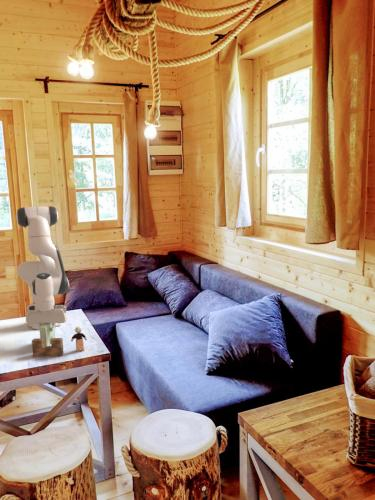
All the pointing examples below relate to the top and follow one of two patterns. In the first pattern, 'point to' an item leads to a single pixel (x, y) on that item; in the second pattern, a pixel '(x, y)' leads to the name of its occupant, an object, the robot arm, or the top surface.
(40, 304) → the robot arm
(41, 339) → the wooden u-shaped block
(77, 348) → the grandmother figurine
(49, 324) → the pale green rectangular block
